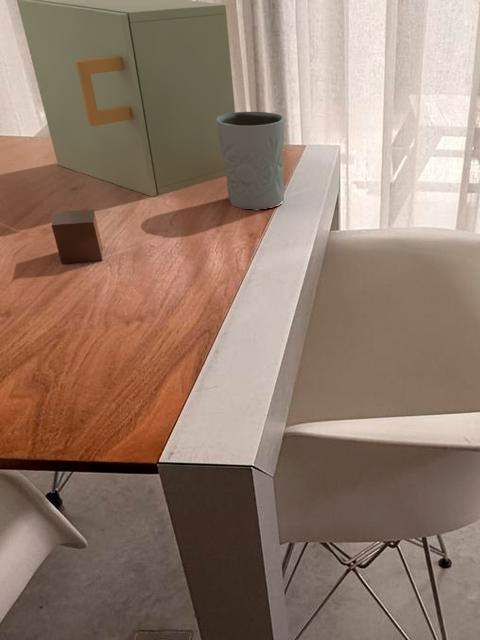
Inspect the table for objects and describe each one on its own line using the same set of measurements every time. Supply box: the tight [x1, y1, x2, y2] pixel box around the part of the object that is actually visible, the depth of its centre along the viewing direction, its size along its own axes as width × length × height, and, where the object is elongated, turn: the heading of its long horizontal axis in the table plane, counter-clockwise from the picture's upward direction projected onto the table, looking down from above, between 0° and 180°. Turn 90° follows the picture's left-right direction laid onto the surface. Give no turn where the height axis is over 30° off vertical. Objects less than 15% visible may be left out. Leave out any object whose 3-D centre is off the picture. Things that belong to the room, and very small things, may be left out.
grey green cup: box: [216, 111, 285, 210], centre depth 105 cm, size 10×10×12 cm
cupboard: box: [33, 0, 236, 196], centre depth 113 cm, size 18×26×24 cm
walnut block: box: [51, 208, 103, 265], centre depth 88 cm, size 5×5×5 cm
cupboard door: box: [16, 0, 158, 198], centre depth 105 cm, size 8×26×24 cm, turn 51°
